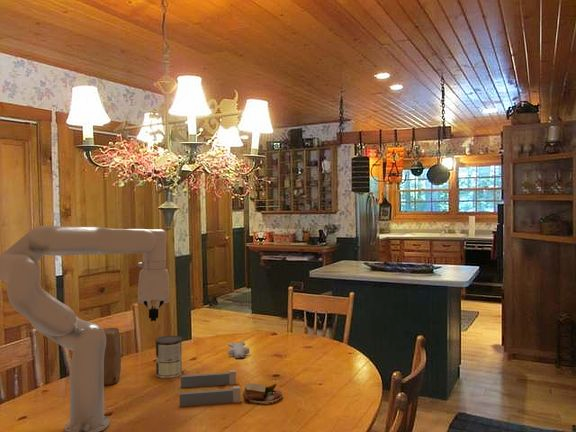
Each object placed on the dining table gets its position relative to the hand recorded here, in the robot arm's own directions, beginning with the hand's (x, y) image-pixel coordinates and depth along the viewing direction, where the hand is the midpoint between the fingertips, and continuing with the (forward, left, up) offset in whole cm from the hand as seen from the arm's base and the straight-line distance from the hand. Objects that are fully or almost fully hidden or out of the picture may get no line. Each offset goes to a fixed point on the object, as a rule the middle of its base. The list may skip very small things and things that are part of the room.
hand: (153, 320), depth 167 cm
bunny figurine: (+52, -33, -29) cm, 68 cm away
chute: (+6, -18, -29) cm, 34 cm away
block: (+27, +19, -29) cm, 44 cm away
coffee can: (+31, -3, -29) cm, 42 cm away
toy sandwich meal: (-2, -37, -29) cm, 47 cm away
